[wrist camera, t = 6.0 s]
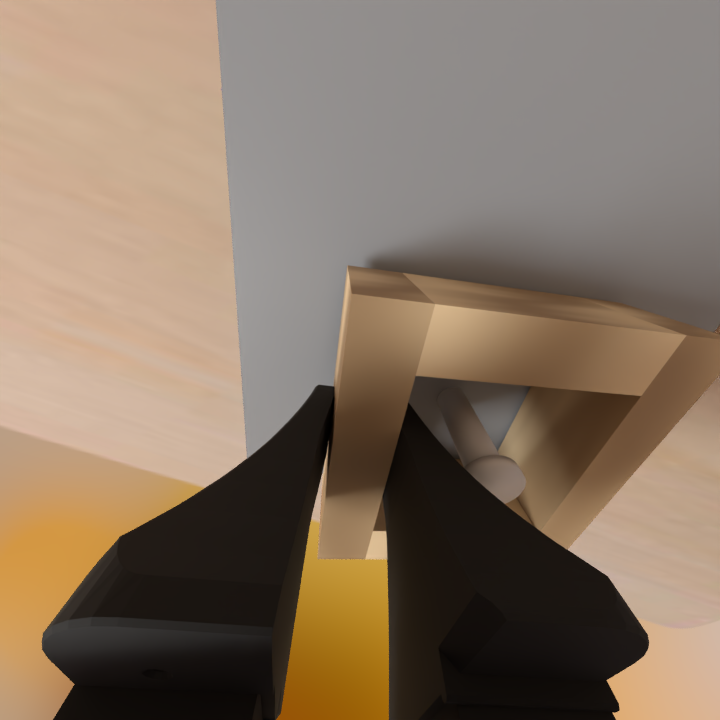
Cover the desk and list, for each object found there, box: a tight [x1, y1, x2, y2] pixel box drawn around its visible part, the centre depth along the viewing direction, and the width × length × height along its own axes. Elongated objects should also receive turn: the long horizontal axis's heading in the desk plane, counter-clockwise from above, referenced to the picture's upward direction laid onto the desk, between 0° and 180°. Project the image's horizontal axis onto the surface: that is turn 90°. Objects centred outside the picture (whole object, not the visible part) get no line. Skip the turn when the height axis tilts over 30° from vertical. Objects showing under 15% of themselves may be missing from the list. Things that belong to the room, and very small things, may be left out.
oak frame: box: [318, 265, 720, 559], centre depth 10 cm, size 10×10×4 cm
